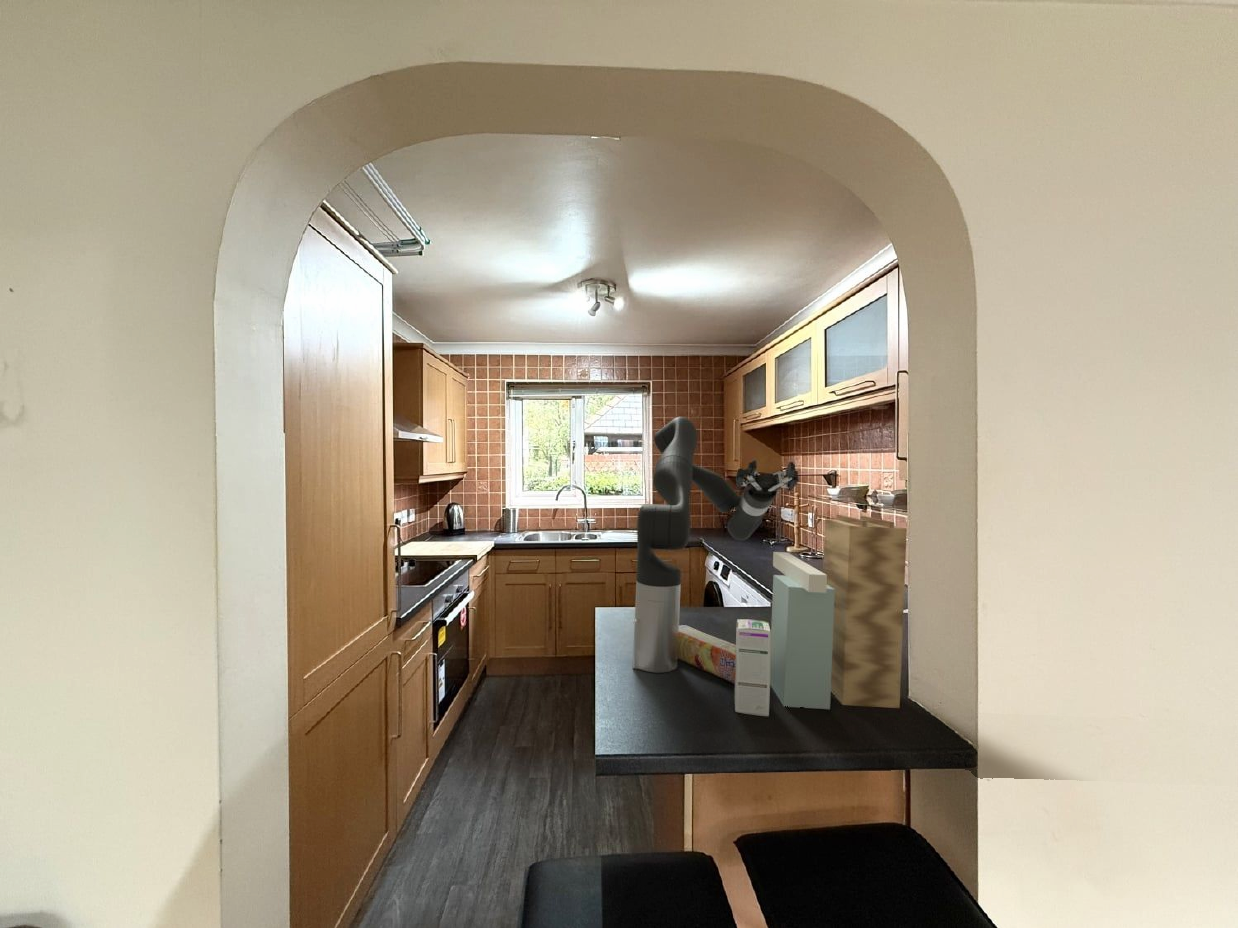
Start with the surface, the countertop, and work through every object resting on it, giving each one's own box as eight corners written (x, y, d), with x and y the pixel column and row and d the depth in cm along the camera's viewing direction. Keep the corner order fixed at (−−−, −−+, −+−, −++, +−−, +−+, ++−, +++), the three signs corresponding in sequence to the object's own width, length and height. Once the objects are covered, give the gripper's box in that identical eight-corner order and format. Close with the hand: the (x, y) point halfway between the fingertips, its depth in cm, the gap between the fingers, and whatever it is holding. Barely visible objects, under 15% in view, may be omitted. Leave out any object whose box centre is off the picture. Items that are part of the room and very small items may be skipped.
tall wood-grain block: (842, 704, 92) (850, 520, 92) (818, 677, 104) (825, 514, 104) (899, 707, 92) (906, 522, 92) (868, 680, 104) (875, 516, 104)
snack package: (766, 685, 100) (768, 650, 100) (745, 693, 95) (746, 657, 95) (686, 651, 116) (687, 621, 116) (665, 657, 112) (666, 626, 112)
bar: (808, 591, 87) (809, 574, 87) (772, 565, 110) (773, 551, 110) (826, 592, 87) (827, 575, 87) (787, 566, 110) (787, 552, 110)
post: (783, 706, 90) (788, 586, 90) (769, 682, 100) (773, 574, 100) (829, 709, 90) (834, 589, 90) (810, 684, 100) (814, 576, 100)
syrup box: (769, 717, 86) (773, 630, 86) (733, 712, 87) (737, 627, 87) (766, 702, 92) (770, 620, 92) (733, 697, 93) (736, 617, 93)
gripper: (729, 482, 135) (741, 449, 121) (784, 484, 134) (802, 451, 120) (730, 508, 131) (743, 477, 117) (787, 510, 131) (806, 479, 117)
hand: (773, 464), depth 119 cm, fingers open, 8 cm apart
